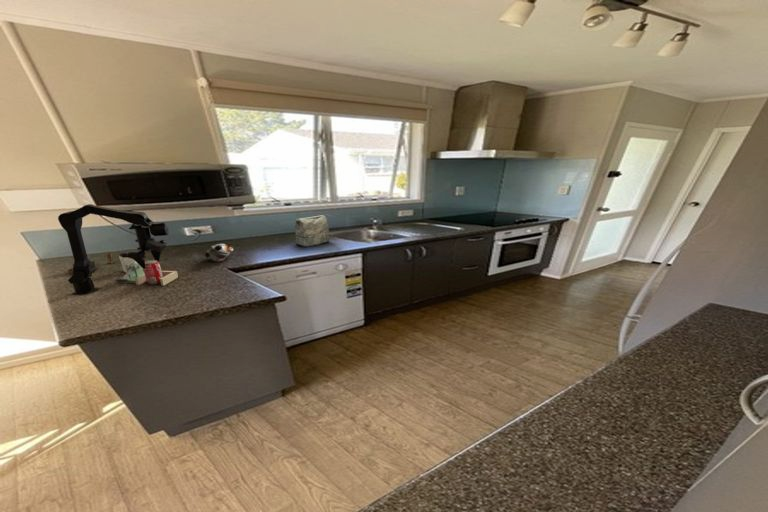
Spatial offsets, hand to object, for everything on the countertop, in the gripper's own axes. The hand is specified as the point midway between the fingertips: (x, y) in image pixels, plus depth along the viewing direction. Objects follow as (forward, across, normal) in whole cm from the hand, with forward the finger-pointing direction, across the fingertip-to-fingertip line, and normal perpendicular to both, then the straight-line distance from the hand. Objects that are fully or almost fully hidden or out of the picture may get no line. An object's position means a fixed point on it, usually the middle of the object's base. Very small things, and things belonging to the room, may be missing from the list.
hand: (151, 265), depth 151 cm
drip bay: (+10, +2, 0) cm, 10 cm away
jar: (+10, +17, +26) cm, 33 cm away
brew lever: (+6, +1, +14) cm, 15 cm away
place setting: (+10, +18, +51) cm, 55 cm away
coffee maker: (+10, +5, +14) cm, 18 cm away
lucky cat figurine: (+10, +39, -14) cm, 43 cm away
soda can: (+10, 0, 0) cm, 10 cm away
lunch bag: (+10, +83, -66) cm, 107 cm away
